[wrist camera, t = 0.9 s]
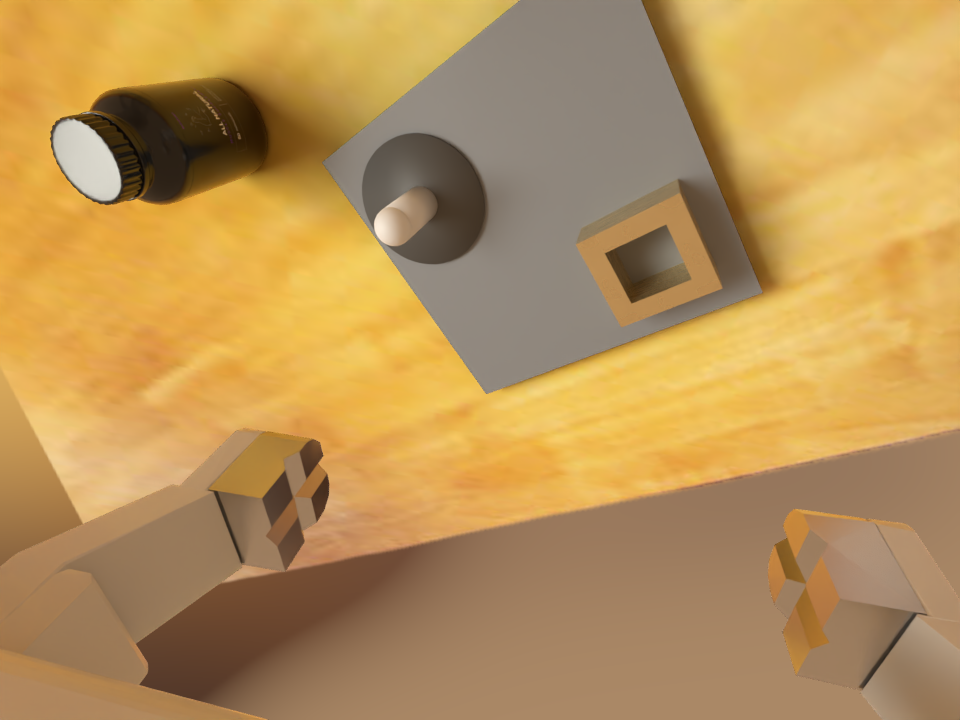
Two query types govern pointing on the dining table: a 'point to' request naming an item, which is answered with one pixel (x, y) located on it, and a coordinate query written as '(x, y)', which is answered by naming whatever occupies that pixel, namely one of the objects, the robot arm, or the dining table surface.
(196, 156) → the supplement bottle
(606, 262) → the wooden collar
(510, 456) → the dining table surface
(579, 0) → the post board
